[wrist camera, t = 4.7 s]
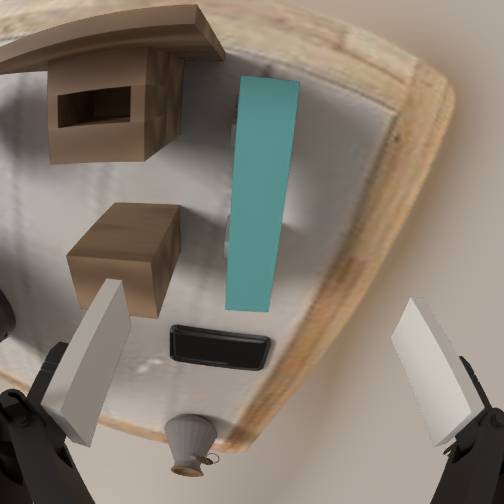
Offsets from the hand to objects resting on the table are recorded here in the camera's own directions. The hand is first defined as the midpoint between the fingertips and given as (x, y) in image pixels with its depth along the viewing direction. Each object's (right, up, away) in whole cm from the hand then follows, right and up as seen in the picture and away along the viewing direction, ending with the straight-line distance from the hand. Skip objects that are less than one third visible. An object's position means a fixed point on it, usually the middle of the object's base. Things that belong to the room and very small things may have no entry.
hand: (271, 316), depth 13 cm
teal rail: (-1, +10, +18) cm, 21 cm away
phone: (-6, -12, +33) cm, 35 cm away
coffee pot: (-12, -31, +43) cm, 54 cm away
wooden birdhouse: (-12, +19, +14) cm, 26 cm away
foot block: (-13, +6, +21) cm, 26 cm away
